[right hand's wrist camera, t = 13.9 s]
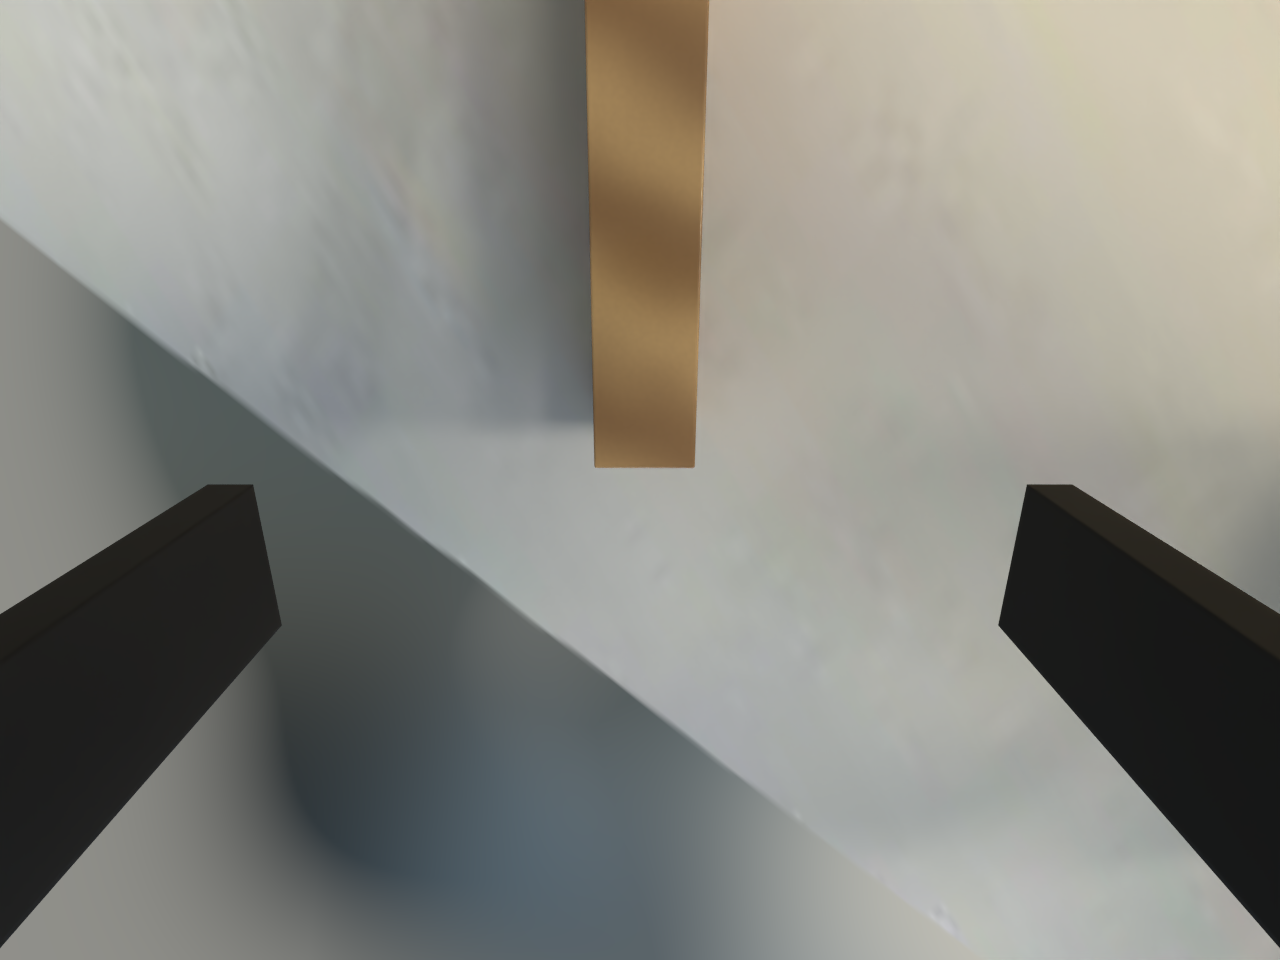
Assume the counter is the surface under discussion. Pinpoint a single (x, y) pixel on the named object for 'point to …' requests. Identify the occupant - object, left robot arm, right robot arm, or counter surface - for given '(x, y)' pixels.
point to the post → (645, 225)
